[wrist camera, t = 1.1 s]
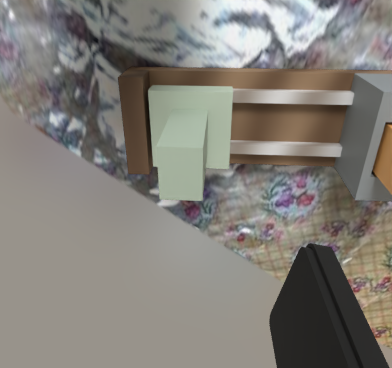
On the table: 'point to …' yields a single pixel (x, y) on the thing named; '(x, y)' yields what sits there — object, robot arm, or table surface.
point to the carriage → (189, 136)
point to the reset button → (384, 158)
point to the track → (251, 112)
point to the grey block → (365, 136)
